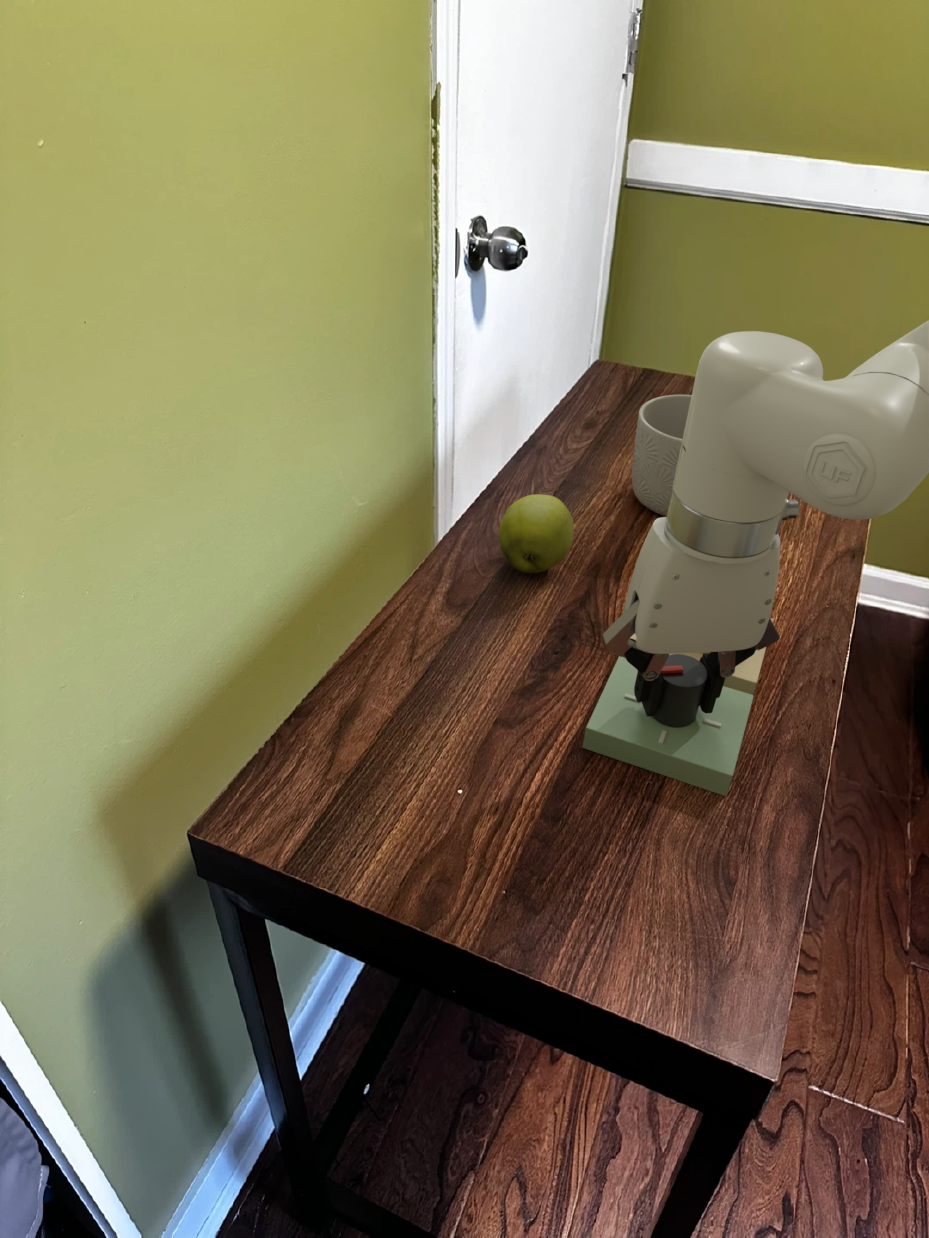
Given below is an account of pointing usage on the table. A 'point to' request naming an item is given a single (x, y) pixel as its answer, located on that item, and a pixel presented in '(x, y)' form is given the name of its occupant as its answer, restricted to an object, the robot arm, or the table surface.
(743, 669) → the button base
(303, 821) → the table surface
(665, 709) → the dial
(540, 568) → the apple
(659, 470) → the planter
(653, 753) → the dial base
